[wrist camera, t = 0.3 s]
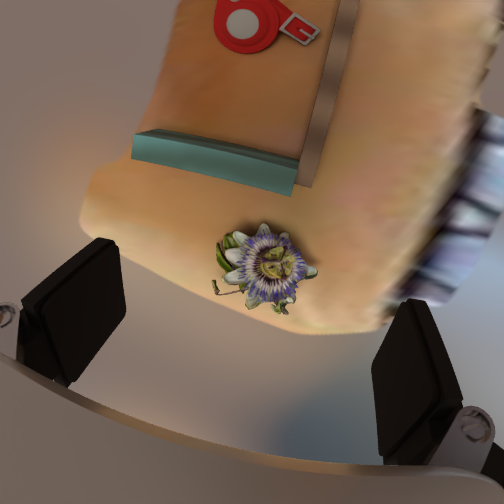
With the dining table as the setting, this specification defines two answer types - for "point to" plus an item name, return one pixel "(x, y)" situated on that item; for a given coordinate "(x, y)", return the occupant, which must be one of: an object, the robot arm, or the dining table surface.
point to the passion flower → (263, 267)
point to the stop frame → (253, 160)
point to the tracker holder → (258, 24)
